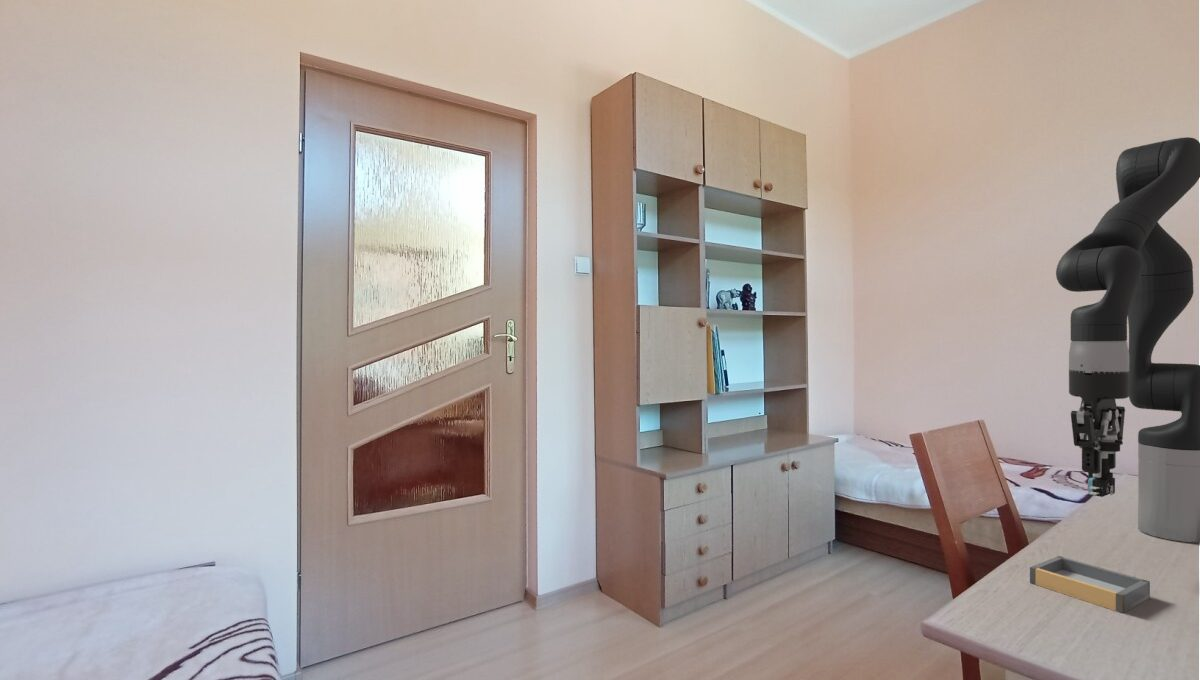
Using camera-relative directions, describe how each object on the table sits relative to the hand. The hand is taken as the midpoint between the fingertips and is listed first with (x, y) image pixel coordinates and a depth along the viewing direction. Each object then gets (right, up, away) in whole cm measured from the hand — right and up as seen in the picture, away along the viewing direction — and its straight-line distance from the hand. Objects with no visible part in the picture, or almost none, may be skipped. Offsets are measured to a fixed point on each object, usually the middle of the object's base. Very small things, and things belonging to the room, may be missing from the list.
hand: (1098, 469), depth 92 cm
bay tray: (-10, -16, -9) cm, 21 cm away
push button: (0, -4, -1) cm, 4 cm away
